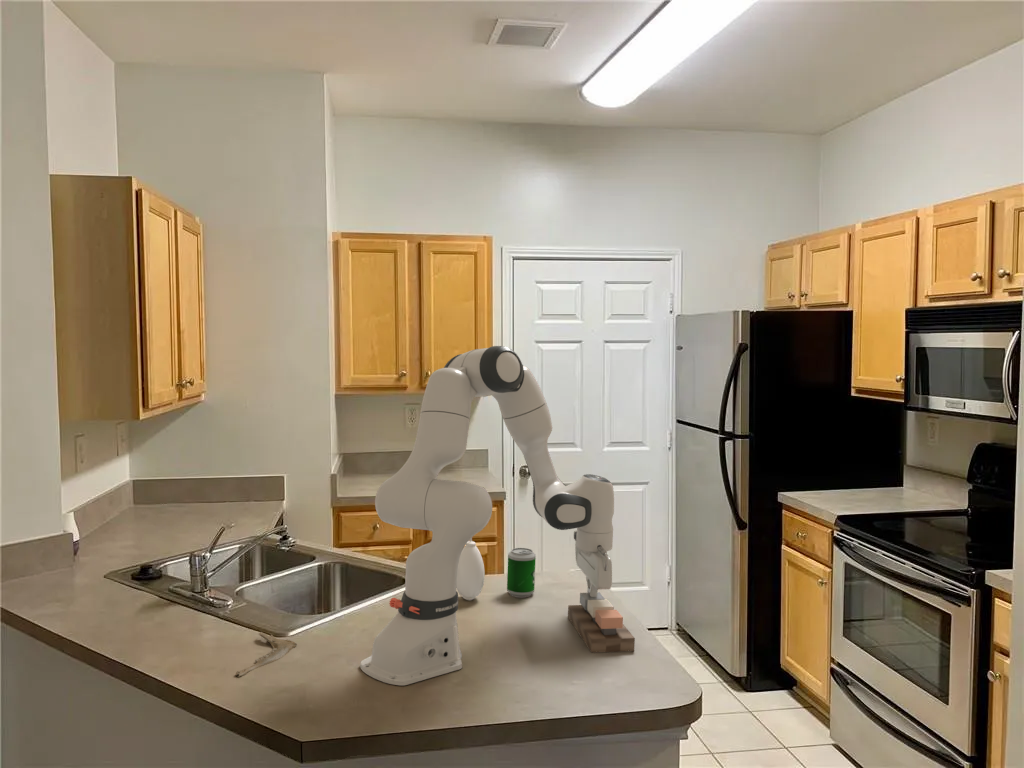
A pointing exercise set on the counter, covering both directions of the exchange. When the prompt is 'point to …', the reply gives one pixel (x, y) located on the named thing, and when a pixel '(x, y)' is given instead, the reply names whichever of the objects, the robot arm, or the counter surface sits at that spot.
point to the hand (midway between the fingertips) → (592, 595)
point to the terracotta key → (609, 621)
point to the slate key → (585, 597)
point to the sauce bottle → (470, 572)
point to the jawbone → (277, 652)
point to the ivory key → (598, 607)
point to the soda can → (521, 572)
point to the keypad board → (599, 633)
